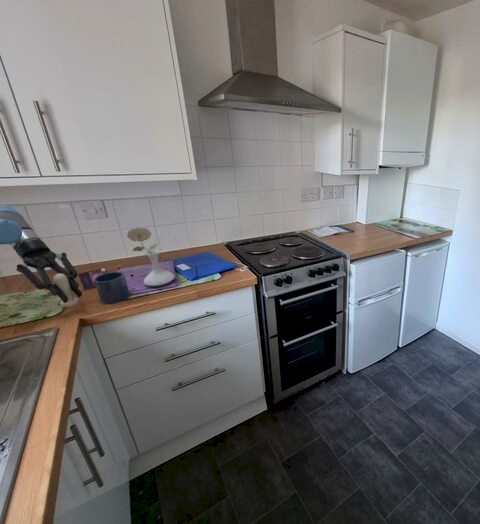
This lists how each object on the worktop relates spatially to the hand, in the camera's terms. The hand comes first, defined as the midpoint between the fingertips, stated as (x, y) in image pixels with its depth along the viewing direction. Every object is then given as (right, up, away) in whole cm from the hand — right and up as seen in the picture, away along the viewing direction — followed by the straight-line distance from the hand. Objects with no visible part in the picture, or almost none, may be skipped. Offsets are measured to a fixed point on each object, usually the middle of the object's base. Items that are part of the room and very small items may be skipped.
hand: (73, 297), depth 103 cm
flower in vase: (+13, +3, +26) cm, 29 cm away
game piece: (-4, -2, +3) cm, 5 cm away
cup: (+4, -1, +14) cm, 15 cm away
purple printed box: (-12, +3, +24) cm, 27 cm away
